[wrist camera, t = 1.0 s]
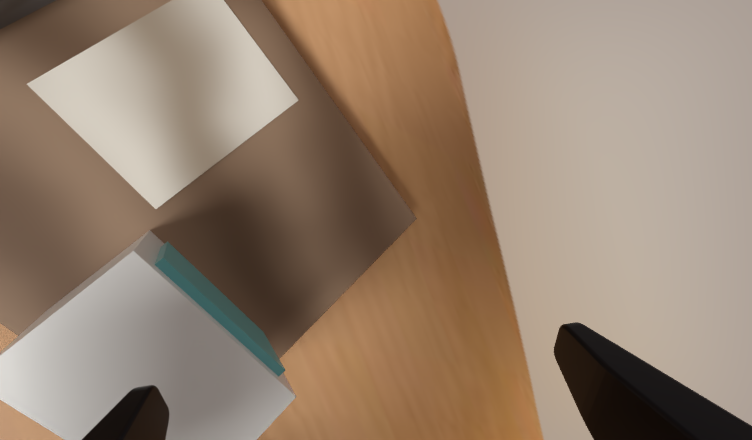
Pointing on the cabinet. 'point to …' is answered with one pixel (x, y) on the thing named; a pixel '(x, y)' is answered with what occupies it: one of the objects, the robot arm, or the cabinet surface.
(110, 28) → the shelf board
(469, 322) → the cabinet surface
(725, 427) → the robot arm
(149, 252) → the carton
